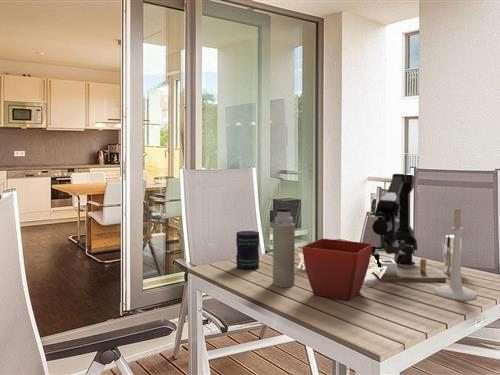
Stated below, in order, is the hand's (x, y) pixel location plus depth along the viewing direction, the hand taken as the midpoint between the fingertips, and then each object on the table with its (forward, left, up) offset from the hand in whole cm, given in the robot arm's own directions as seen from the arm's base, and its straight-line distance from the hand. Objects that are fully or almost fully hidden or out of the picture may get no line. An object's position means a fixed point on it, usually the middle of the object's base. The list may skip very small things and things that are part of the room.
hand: (386, 270), depth 172 cm
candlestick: (+22, +17, -3) cm, 28 cm away
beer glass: (-7, +28, -2) cm, 29 cm away
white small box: (0, 0, -1) cm, 1 cm away
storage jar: (-13, -55, -3) cm, 57 cm away
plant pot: (+22, -23, -3) cm, 32 cm away
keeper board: (0, +8, -2) cm, 8 cm away
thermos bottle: (+11, -41, -2) cm, 43 cm away
